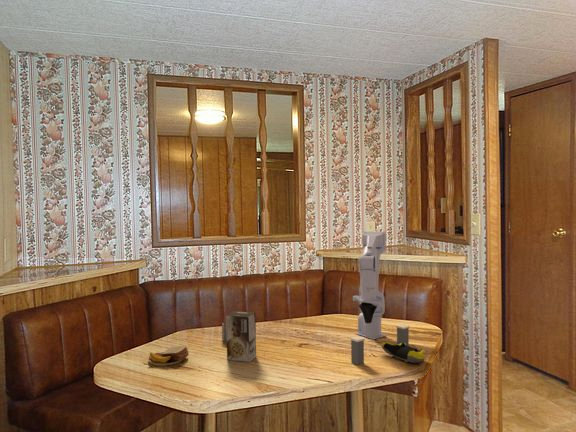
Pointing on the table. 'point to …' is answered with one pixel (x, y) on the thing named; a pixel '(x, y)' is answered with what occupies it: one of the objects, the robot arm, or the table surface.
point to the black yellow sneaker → (404, 352)
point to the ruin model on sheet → (224, 333)
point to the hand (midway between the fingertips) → (368, 322)
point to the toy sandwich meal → (169, 356)
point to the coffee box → (241, 336)
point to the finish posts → (358, 342)
